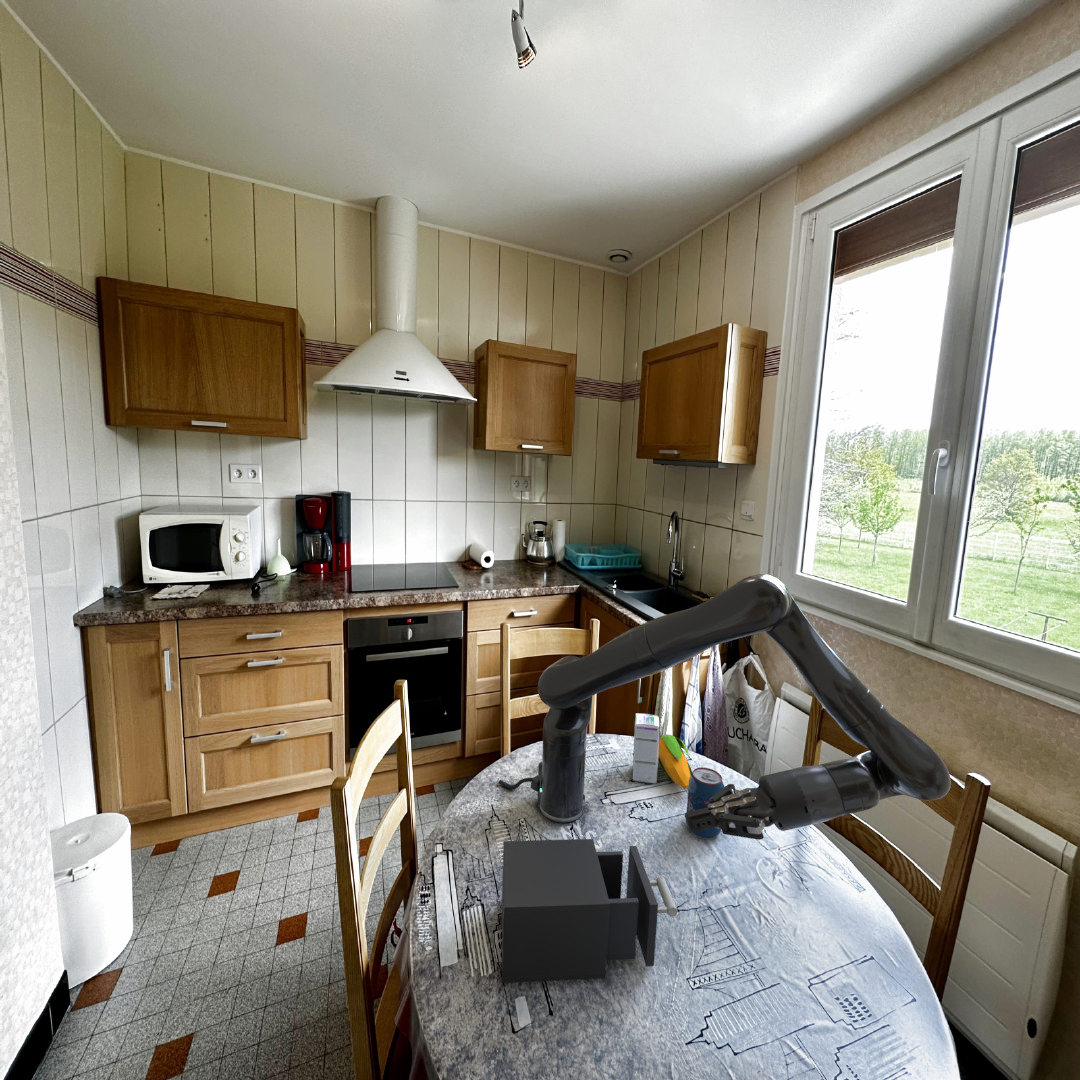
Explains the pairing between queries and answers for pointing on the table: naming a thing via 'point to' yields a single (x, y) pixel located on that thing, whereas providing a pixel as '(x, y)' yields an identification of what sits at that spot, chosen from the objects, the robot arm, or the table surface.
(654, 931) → the dark grey drawer
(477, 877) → the table surface
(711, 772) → the soda can
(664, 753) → the corn
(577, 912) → the grey drawer cabinet
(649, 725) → the syrup box
